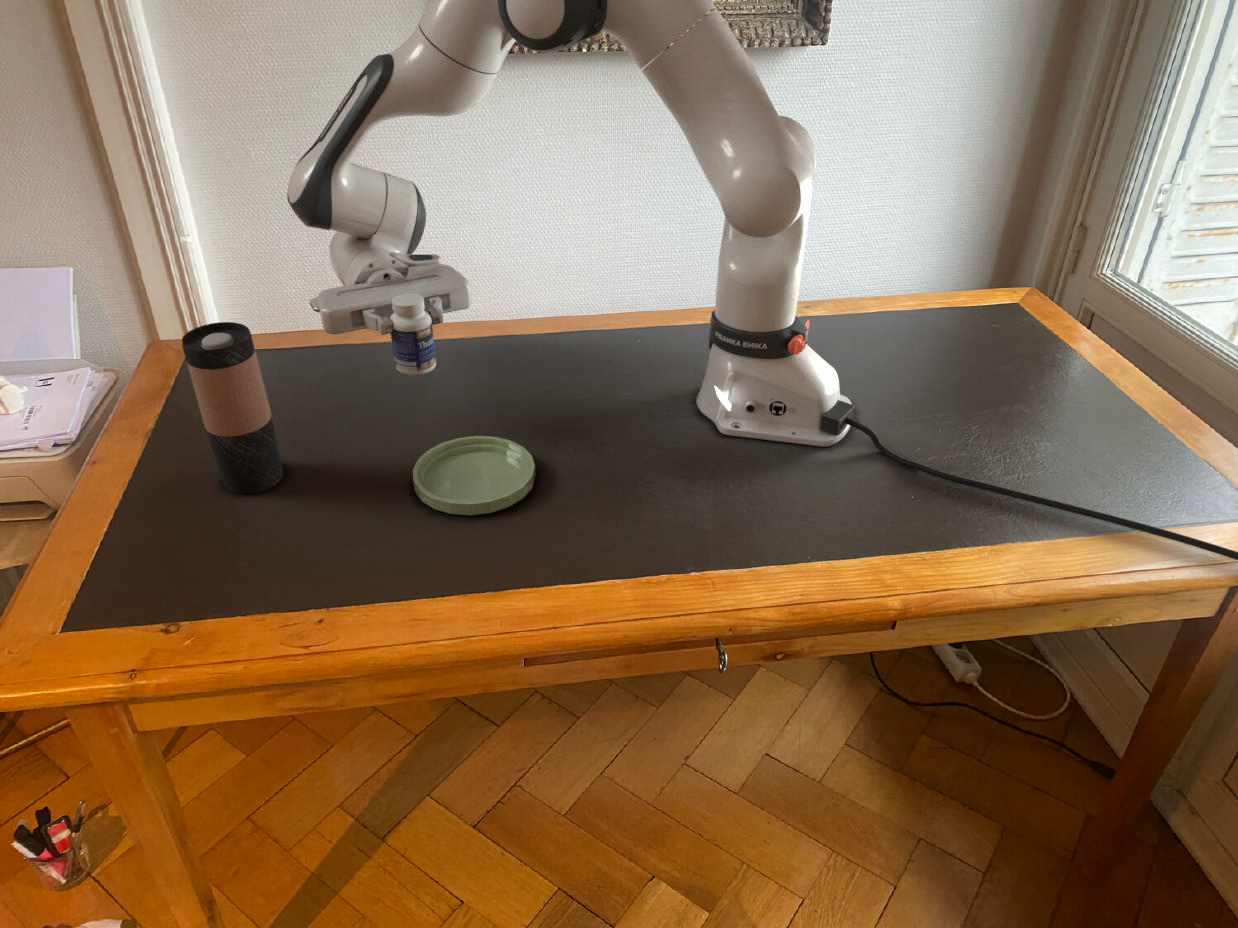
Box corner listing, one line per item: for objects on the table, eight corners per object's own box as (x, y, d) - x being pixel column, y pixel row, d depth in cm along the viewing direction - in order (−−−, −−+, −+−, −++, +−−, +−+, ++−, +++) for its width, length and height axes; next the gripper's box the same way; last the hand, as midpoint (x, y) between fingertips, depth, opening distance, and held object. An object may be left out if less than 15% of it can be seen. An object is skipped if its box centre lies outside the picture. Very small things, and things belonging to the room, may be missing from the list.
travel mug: (297, 468, 115) (265, 327, 104) (259, 500, 109) (220, 355, 98) (248, 456, 117) (211, 317, 106) (208, 488, 111) (164, 344, 100)
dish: (555, 464, 116) (554, 451, 115) (497, 529, 105) (496, 516, 104) (455, 438, 121) (454, 426, 120) (390, 498, 110) (388, 485, 108)
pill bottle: (427, 378, 116) (419, 310, 110) (389, 374, 116) (379, 305, 111) (442, 360, 120) (435, 293, 115) (405, 355, 121) (396, 289, 115)
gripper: (302, 276, 118) (327, 316, 108) (448, 252, 126) (484, 287, 116) (310, 320, 121) (335, 362, 111) (452, 293, 130) (487, 330, 120)
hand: (413, 323), depth 114 cm, fingers closed on pill bottle, 5 cm apart
